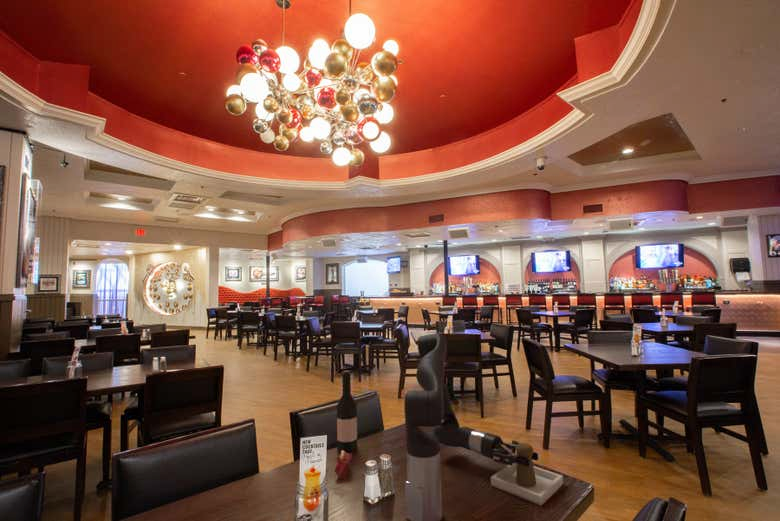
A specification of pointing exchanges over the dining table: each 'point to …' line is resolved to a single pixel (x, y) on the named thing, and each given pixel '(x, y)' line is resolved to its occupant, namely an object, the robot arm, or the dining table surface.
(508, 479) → the serving tray
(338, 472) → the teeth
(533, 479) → the cork
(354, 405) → the wine bottle
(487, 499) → the dining table surface
